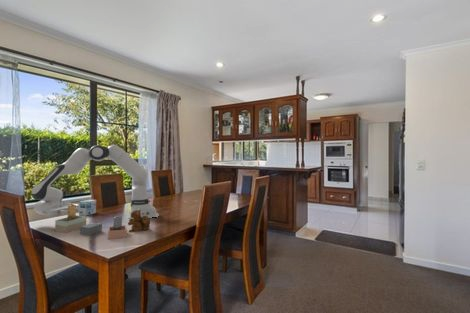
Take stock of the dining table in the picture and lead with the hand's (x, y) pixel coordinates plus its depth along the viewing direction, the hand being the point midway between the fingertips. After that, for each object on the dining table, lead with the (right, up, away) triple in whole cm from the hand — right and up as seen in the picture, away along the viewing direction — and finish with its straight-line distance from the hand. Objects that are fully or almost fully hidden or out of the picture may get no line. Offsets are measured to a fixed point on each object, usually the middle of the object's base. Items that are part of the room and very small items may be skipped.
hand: (72, 211), depth 155 cm
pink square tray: (+34, -12, -12) cm, 38 cm away
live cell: (-1, -7, 0) cm, 8 cm away
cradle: (+16, -12, -8) cm, 22 cm away
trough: (-1, -11, 0) cm, 12 cm away
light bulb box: (-15, -11, +39) cm, 44 cm away
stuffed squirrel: (+42, -13, +1) cm, 44 cm away
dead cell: (+34, -12, -12) cm, 38 cm away
